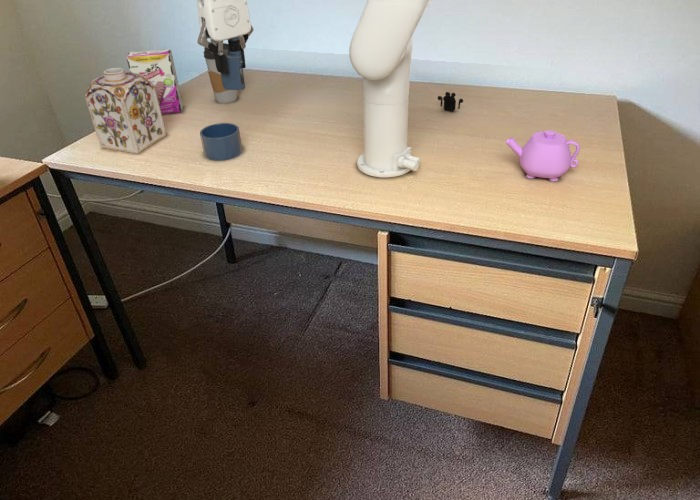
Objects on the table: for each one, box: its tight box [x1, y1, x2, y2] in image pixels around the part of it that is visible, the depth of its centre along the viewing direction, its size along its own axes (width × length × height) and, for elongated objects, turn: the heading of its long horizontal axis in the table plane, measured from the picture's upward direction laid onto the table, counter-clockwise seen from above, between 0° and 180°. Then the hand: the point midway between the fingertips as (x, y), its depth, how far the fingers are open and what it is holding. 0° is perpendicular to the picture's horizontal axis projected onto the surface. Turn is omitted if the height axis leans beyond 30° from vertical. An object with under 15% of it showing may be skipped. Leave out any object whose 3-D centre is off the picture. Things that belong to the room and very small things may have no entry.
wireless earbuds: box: [437, 91, 464, 112], centre depth 143 cm, size 7×2×5 cm, turn 64°
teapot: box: [505, 129, 581, 182], centre depth 113 cm, size 10×15×9 cm
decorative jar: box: [84, 67, 167, 154], centre depth 131 cm, size 12×12×18 cm
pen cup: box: [199, 122, 243, 162], centre depth 127 cm, size 9×9×6 cm
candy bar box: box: [125, 48, 184, 115], centre depth 147 cm, size 11×5×16 cm, turn 100°
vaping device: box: [221, 37, 246, 91], centre depth 117 cm, size 3×5×12 cm, turn 78°
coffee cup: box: [203, 42, 238, 104], centre depth 154 cm, size 8×8×15 cm
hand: (231, 69), depth 118 cm, fingers closed on vaping device, 4 cm apart
